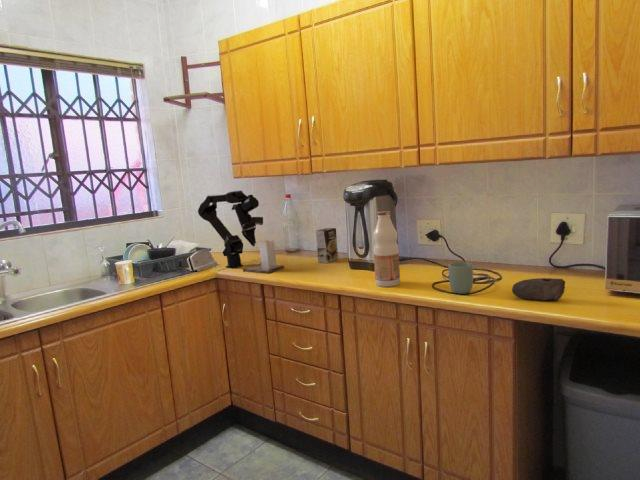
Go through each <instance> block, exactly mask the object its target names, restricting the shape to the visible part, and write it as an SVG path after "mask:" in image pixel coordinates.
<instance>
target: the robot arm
mask: <svg viewBox="0 0 640 480" xmlns="http://www.w3.org/2000/svg"><path fill="white" fill-rule="evenodd" d="M222 202H223V203H224V202H226V203H229V204H233V205H232V207H231V211H234V212H235V214H236V216H237V218H238V219H237V220H238V222H239V225H240V227H241V234H242V236H243V238H244V239H246V241H247V242H248V243H249V244H250V245H251V246H252V247H255V246H256V244H257V242H256V235H255V234H256V229H257V225H258V226H259V225H260V226H263V225H264V217H263V216H252V215H251V214H250V212H251V211H253V210H255V209H256V208H258V207H259V205H260V202H259V200H258V199H257V198H256V197H255V196H254V195H253V194H249V195H246V194H245V193H244V192H243V190H234V191H229V192H227V193H225V194H223V193H222V194H210V195H207V196H206V198H205V200H203V201H202V203H200V206H198V210H197V213H198V216H199V217H200V218H201V219H203V220H205V221H207V222H208V223H209V225H211V227H212V228H214V230H215V231H216V233H217V234H218V235H219V236H220V238H221V240H223V244H224V249H223V251H222V254H223V256H224V257H226V259H227V265H226V266H225V268H228V269H229V268H230V269H235V268H240V267H243V266H244V264H243V263H242V259H241V255H242V254H243V251H244V242H243V240H242V239H241V238H240V236H239V235H237V234H235V235H232V234H231V232H230V231H229V229H228V228H227V227H226V226H225V224H223V222H222V220H220V219H219V217H218V213H217V207H218V204H217V203H222ZM240 254H241V255H240Z"/></svg>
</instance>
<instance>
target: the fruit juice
mask: <svg viewBox="0 0 640 480" xmlns="http://www.w3.org/2000/svg"><path fill="white" fill-rule="evenodd" d="M376 216H377V222H376V226H375V228H374V230H373V234H372V239H373V241H374V245H373V258H374V259H373V262H374V278H375V279H374V280H375V285H376V286H378V287H383V288H384V287H385V288H389V287H390V288H391V287H397V286H399V285H400V283H401V274H400V273H401V272H400V271H401V270H400V253H399V252H400V251H399V245H398V243H397V239H398V232H397V230H396V228H395V226H394V224H393V221H392V219H391V210H384V211H377V212H376Z"/></svg>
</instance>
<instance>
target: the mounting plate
mask: <svg viewBox="0 0 640 480" xmlns="http://www.w3.org/2000/svg"><path fill="white" fill-rule="evenodd" d="M276 266H277V268H273V269H270V270H266V269H262V267H261V263H257V264H254V265H251V266H247V267H245V268H243V269H242V272H244V273H257V274H267V275H268V274H271V273H275V272H276V271H279V270H283V269H285V265H283V264H276Z"/></svg>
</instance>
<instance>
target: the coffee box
mask: <svg viewBox="0 0 640 480" xmlns="http://www.w3.org/2000/svg"><path fill="white" fill-rule="evenodd" d="M315 236H316V250H317V251H316V252H317V262H318V263H323V264H330V263H332V262H335V261H337V260H339V253H338V250H339V249H338V239H337V228H336V227H329V228H322V229H318V230H315Z"/></svg>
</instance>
